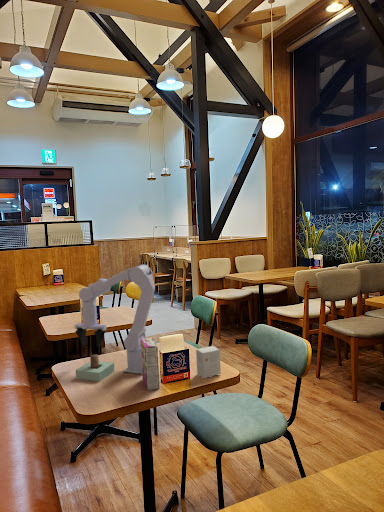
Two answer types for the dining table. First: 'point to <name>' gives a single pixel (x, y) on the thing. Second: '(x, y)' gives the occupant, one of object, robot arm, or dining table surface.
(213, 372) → the small box
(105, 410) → the dining table surface
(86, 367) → the socket block
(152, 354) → the candy bar box
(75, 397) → the dining table surface
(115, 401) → the dining table surface
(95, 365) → the walnut peg
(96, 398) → the dining table surface
